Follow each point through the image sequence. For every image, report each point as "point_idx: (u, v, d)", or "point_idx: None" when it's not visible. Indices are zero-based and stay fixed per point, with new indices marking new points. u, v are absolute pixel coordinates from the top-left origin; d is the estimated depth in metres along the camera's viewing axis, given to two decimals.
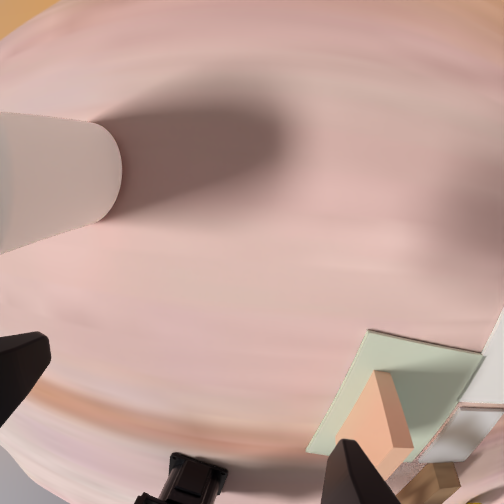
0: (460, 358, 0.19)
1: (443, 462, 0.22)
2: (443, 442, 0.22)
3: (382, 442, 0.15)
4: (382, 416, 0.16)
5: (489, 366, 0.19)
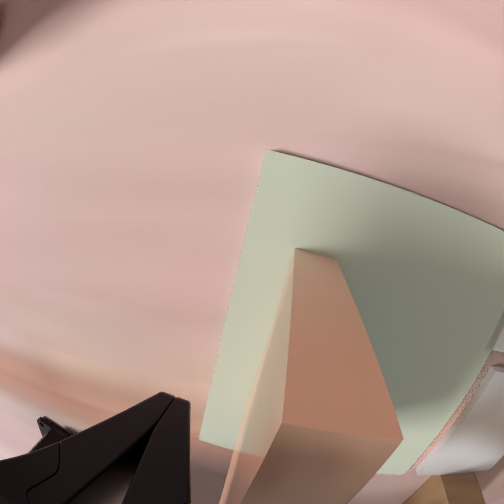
0: (488, 240, 0.09)
1: (458, 473, 0.12)
2: (461, 438, 0.11)
3: (269, 406, 0.04)
4: (286, 321, 0.06)
5: None
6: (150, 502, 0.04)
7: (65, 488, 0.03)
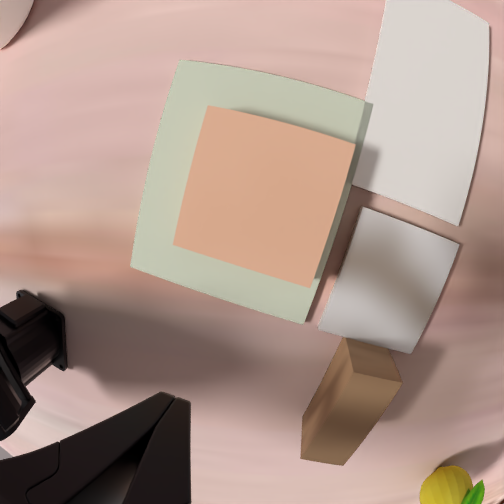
0: (323, 97, 0.16)
1: (368, 342, 0.18)
2: (352, 284, 0.18)
3: (327, 154, 0.15)
4: (294, 132, 0.15)
5: (388, 124, 0.15)
6: (151, 502, 0.04)
7: (65, 488, 0.03)
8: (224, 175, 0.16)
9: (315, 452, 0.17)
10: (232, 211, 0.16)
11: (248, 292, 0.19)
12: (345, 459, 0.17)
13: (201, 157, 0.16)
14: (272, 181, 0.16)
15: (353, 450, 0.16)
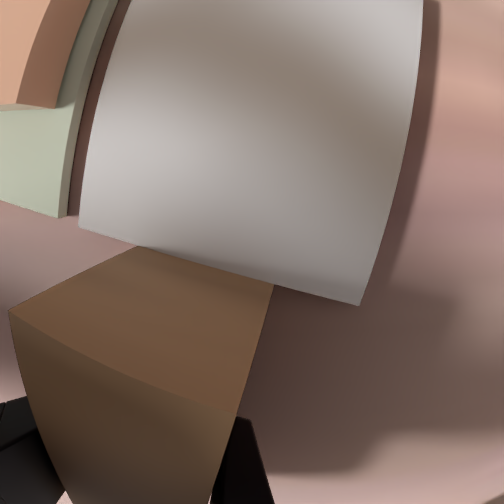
0: None
1: (202, 262, 0.07)
2: (131, 91, 0.06)
3: None
4: None
5: None
6: None
7: (2, 440, 0.03)
8: None
9: None
10: None
11: None
12: None
13: None
14: None
15: None
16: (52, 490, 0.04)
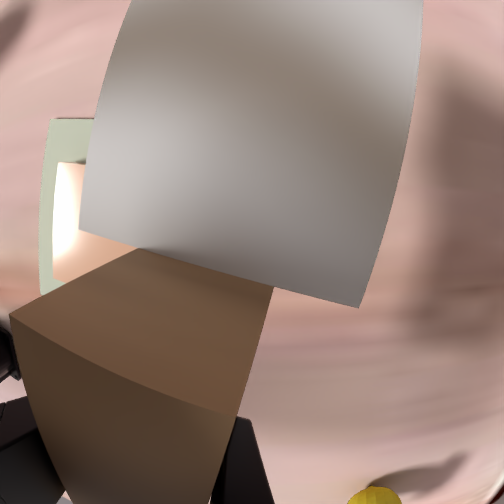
0: None
1: (202, 264, 0.07)
2: (130, 93, 0.06)
3: None
4: None
5: None
6: None
7: (2, 441, 0.03)
8: (73, 220, 0.17)
9: None
10: (82, 249, 0.17)
11: None
12: None
13: (58, 206, 0.17)
14: None
15: None
16: (53, 490, 0.04)
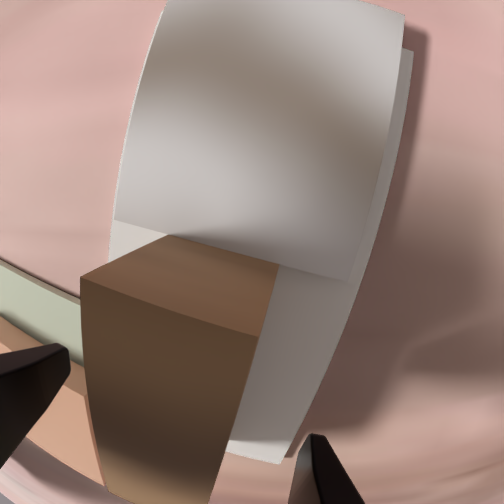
0: (61, 309, 0.11)
1: (222, 246, 0.08)
2: (161, 107, 0.08)
3: (63, 398, 0.10)
4: None
5: None
6: None
7: None
8: None
9: (125, 489, 0.07)
10: None
11: None
12: None
13: None
14: None
15: None
16: (1, 450, 0.05)
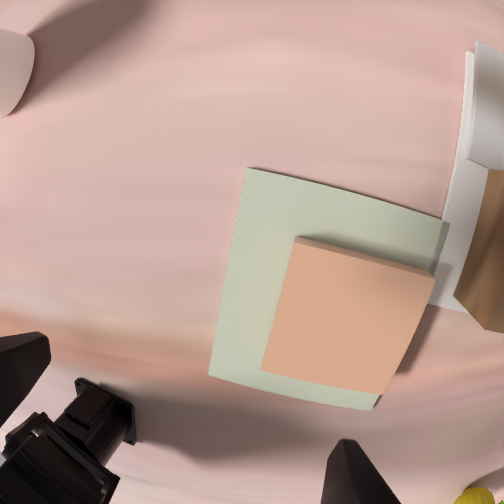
0: (405, 219, 0.15)
1: None
2: (488, 108, 0.12)
3: (411, 290, 0.15)
4: (383, 272, 0.15)
5: (461, 242, 0.15)
6: None
7: None
8: (313, 314, 0.16)
9: (501, 314, 0.11)
10: (320, 344, 0.16)
11: (325, 393, 0.19)
12: None
13: (289, 296, 0.16)
14: (359, 318, 0.16)
15: None
16: None
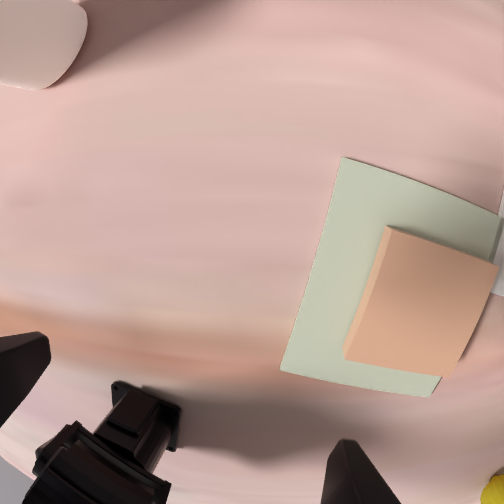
0: (473, 214, 0.15)
1: None
2: None
3: (480, 276, 0.14)
4: (461, 259, 0.14)
5: None
6: None
7: None
8: (402, 299, 0.16)
9: None
10: (404, 329, 0.16)
11: (393, 381, 0.19)
12: None
13: (383, 283, 0.16)
14: (439, 302, 0.15)
15: None
16: None
